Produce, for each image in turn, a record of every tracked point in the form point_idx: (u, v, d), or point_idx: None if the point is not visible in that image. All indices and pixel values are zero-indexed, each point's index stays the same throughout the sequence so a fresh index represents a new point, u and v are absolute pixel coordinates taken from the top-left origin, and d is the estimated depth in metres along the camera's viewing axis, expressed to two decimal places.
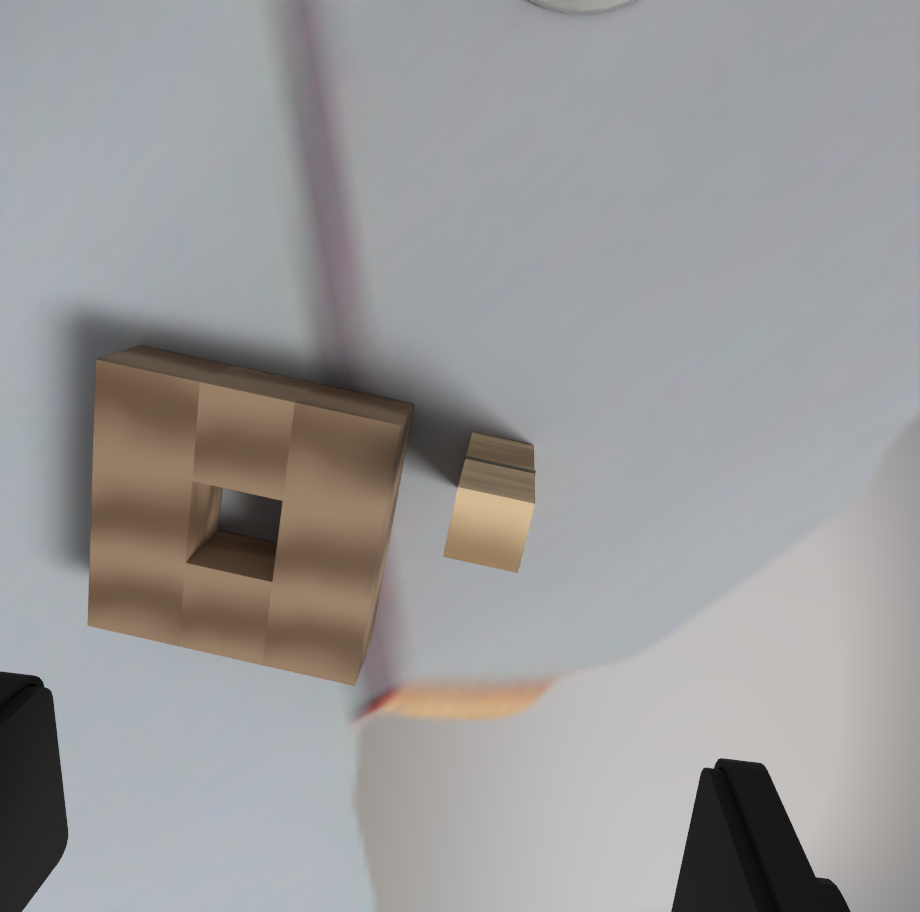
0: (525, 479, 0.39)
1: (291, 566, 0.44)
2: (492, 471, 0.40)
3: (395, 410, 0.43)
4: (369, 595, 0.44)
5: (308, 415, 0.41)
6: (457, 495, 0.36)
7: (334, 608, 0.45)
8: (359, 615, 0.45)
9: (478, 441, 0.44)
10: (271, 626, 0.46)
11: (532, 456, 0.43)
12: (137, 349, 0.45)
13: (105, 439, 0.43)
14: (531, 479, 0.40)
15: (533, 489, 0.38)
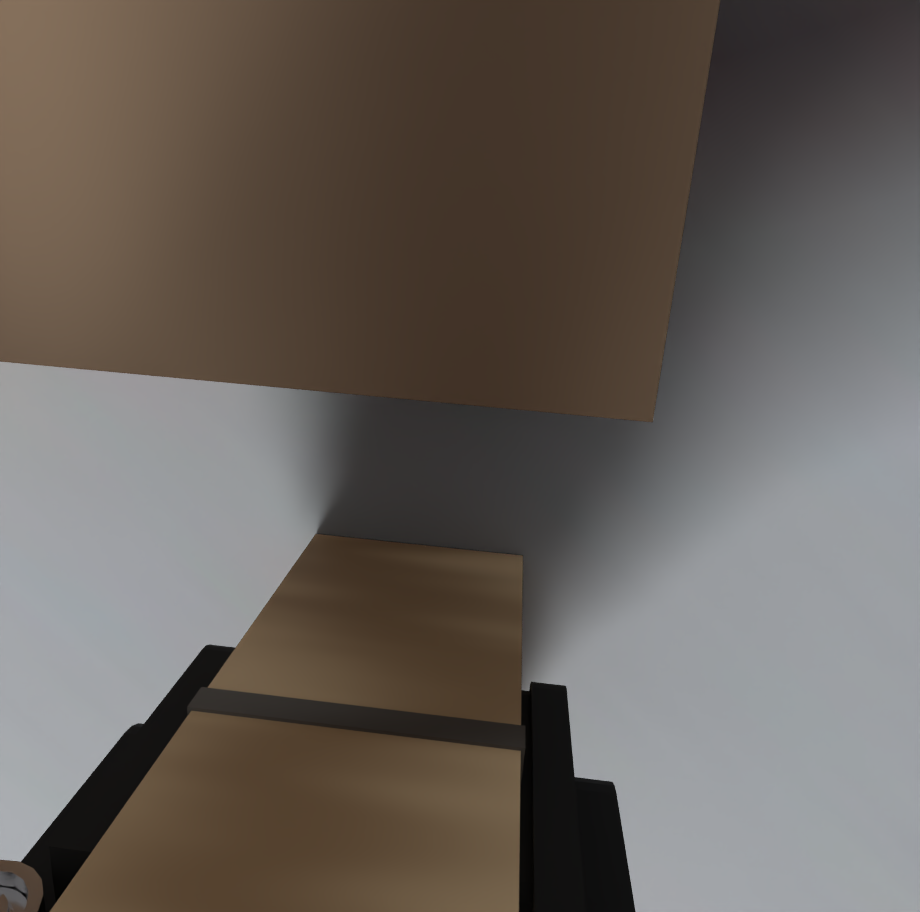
0: None
1: None
2: None
3: None
4: None
5: None
6: None
7: None
8: None
9: None
10: None
11: None
12: None
13: None
14: None
15: None
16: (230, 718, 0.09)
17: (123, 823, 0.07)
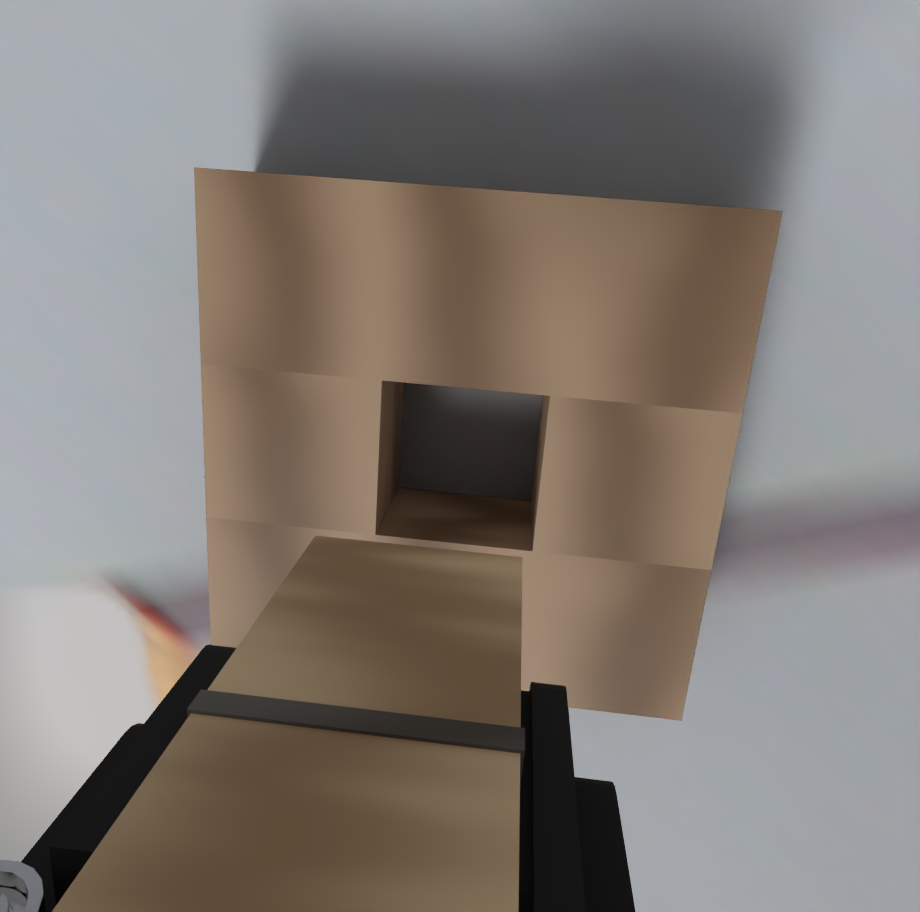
0: None
1: None
2: None
3: None
4: None
5: (690, 590, 0.25)
6: None
7: None
8: None
9: None
10: (288, 532, 0.26)
11: None
12: None
13: (617, 225, 0.22)
14: None
15: None
16: (229, 721, 0.09)
17: (122, 826, 0.07)
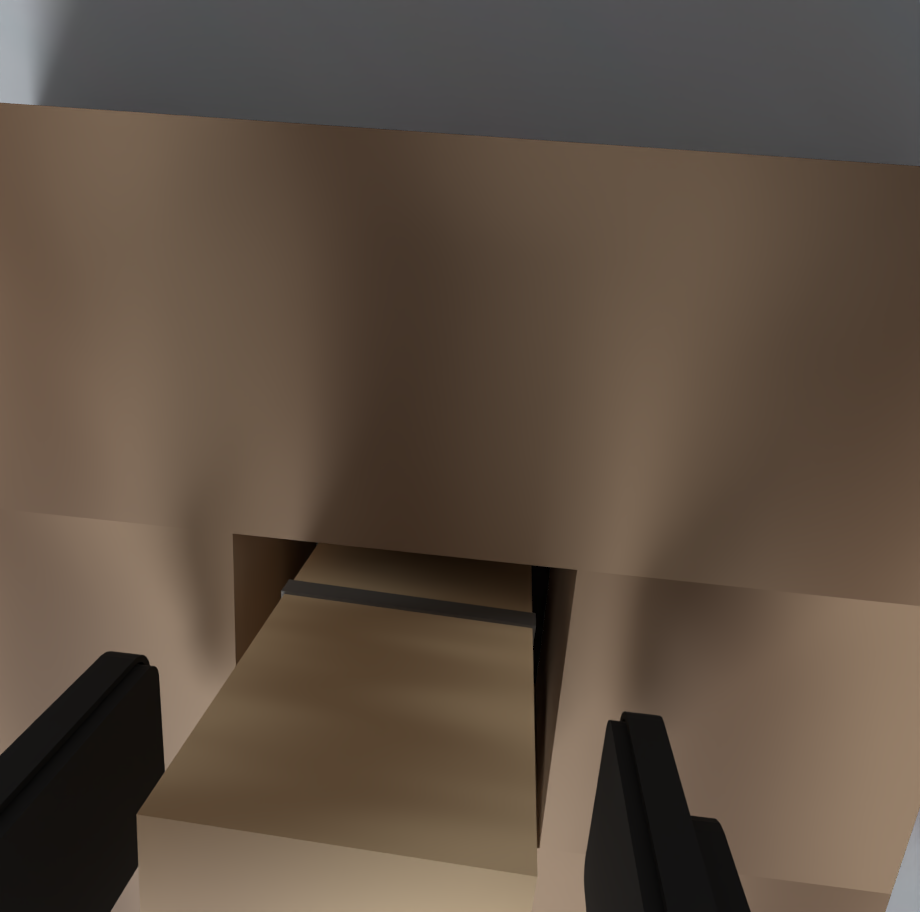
0: None
1: None
2: None
3: None
4: None
5: None
6: (488, 874, 0.07)
7: None
8: None
9: None
10: None
11: None
12: None
13: (734, 214, 0.10)
14: None
15: None
16: (314, 599, 0.11)
17: (252, 654, 0.10)
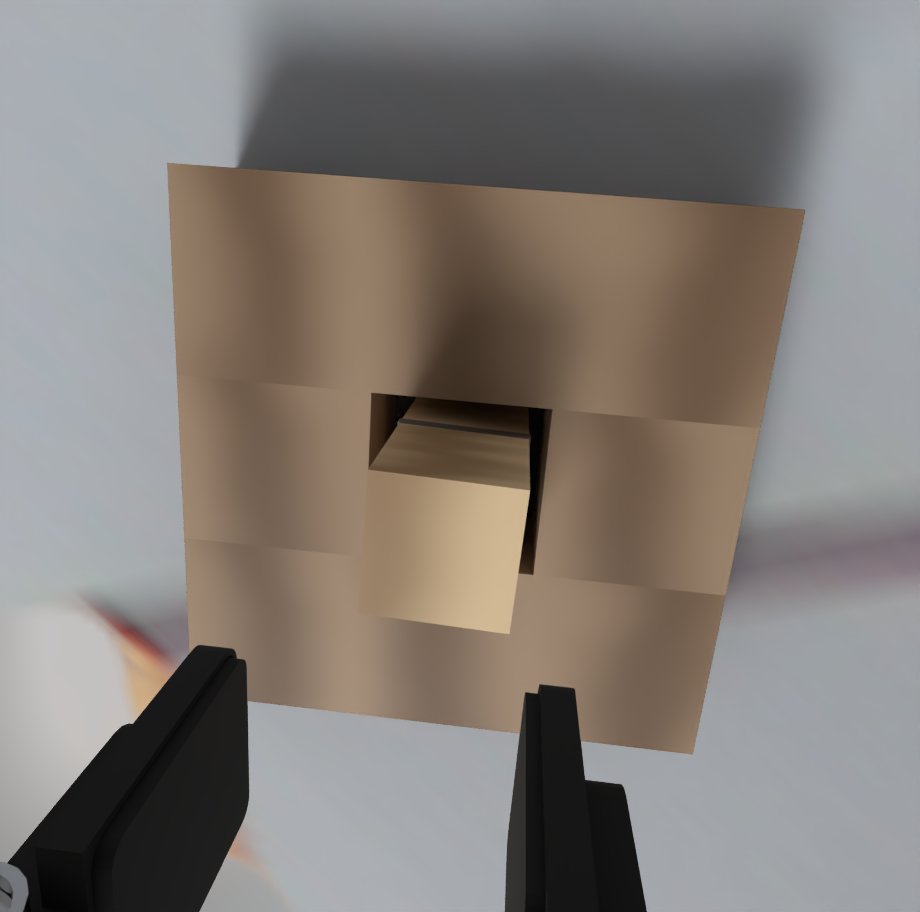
0: None
1: None
2: None
3: None
4: (375, 714, 0.26)
5: (703, 617, 0.23)
6: (510, 490, 0.17)
7: (337, 660, 0.25)
8: (332, 699, 0.26)
9: None
10: (272, 554, 0.24)
11: None
12: None
13: (625, 225, 0.20)
14: None
15: None
16: (415, 425, 0.22)
17: (393, 437, 0.20)
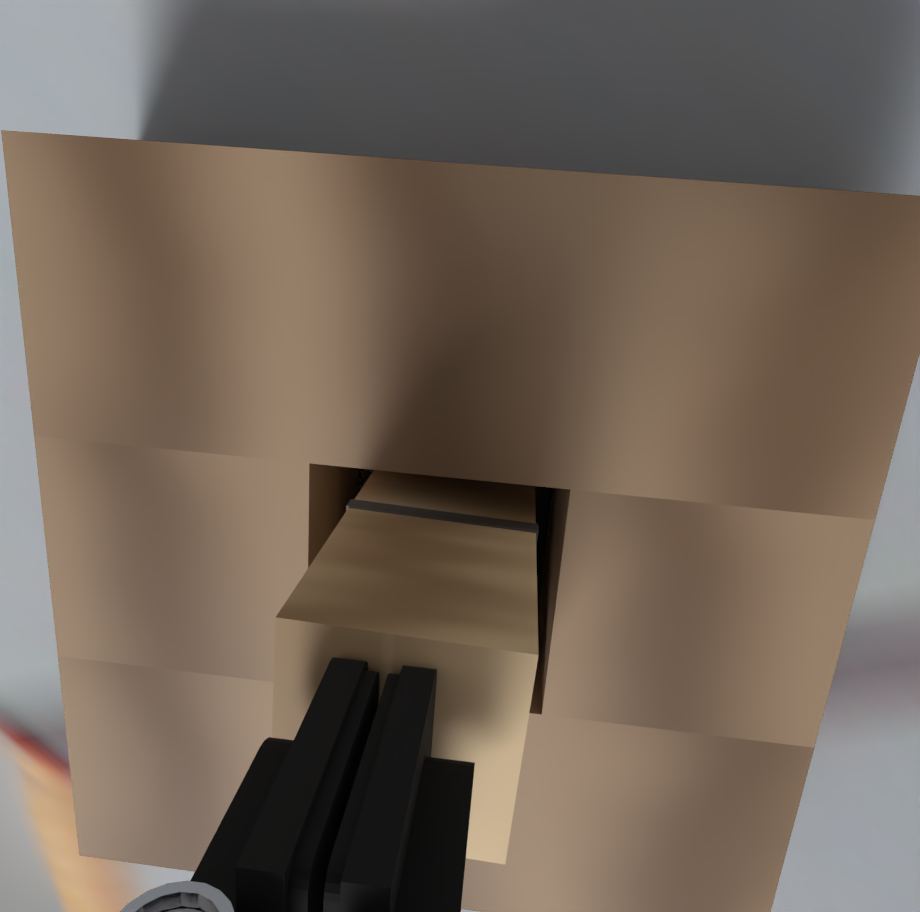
0: None
1: None
2: None
3: None
4: None
5: (780, 775, 0.17)
6: (506, 654, 0.11)
7: None
8: None
9: None
10: (179, 679, 0.17)
11: None
12: None
13: (683, 222, 0.13)
14: None
15: None
16: (371, 511, 0.15)
17: (332, 540, 0.14)
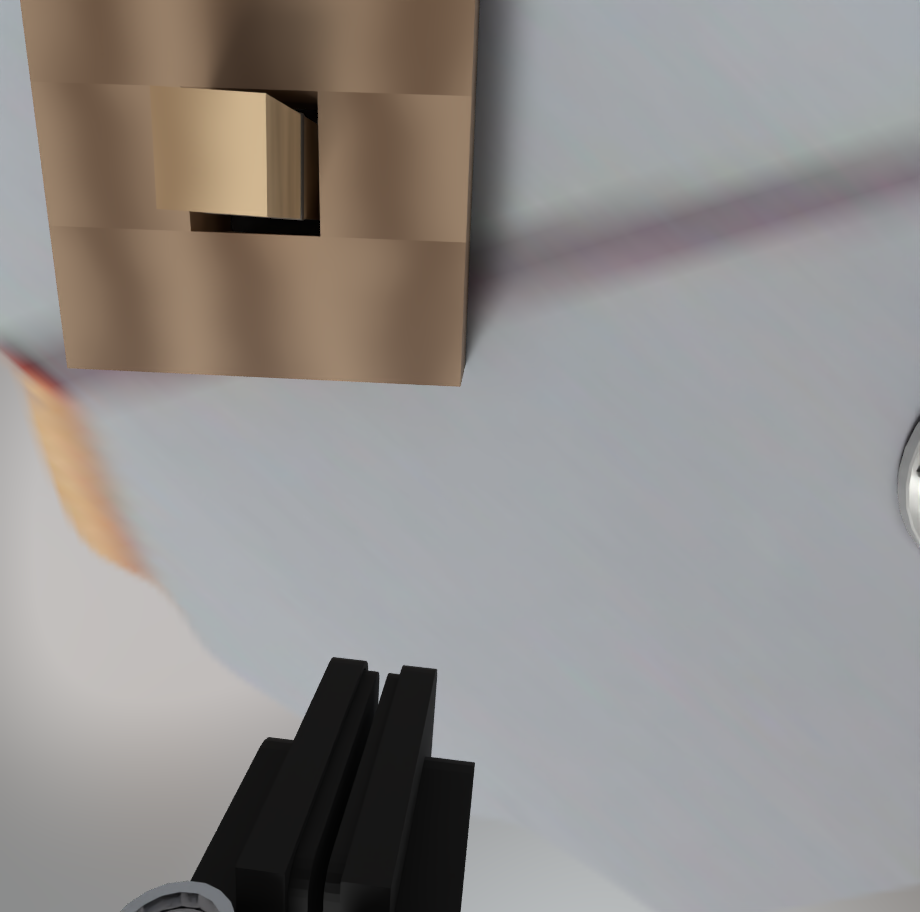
0: (291, 204, 0.29)
1: (223, 258, 0.31)
2: (292, 154, 0.28)
3: (463, 358, 0.34)
4: (213, 373, 0.33)
5: (451, 263, 0.31)
6: (252, 94, 0.24)
7: (179, 326, 0.32)
8: (179, 363, 0.32)
9: None
10: (119, 235, 0.31)
11: (317, 217, 0.33)
12: None
13: None
14: (293, 213, 0.29)
15: (283, 215, 0.27)
16: None
17: None
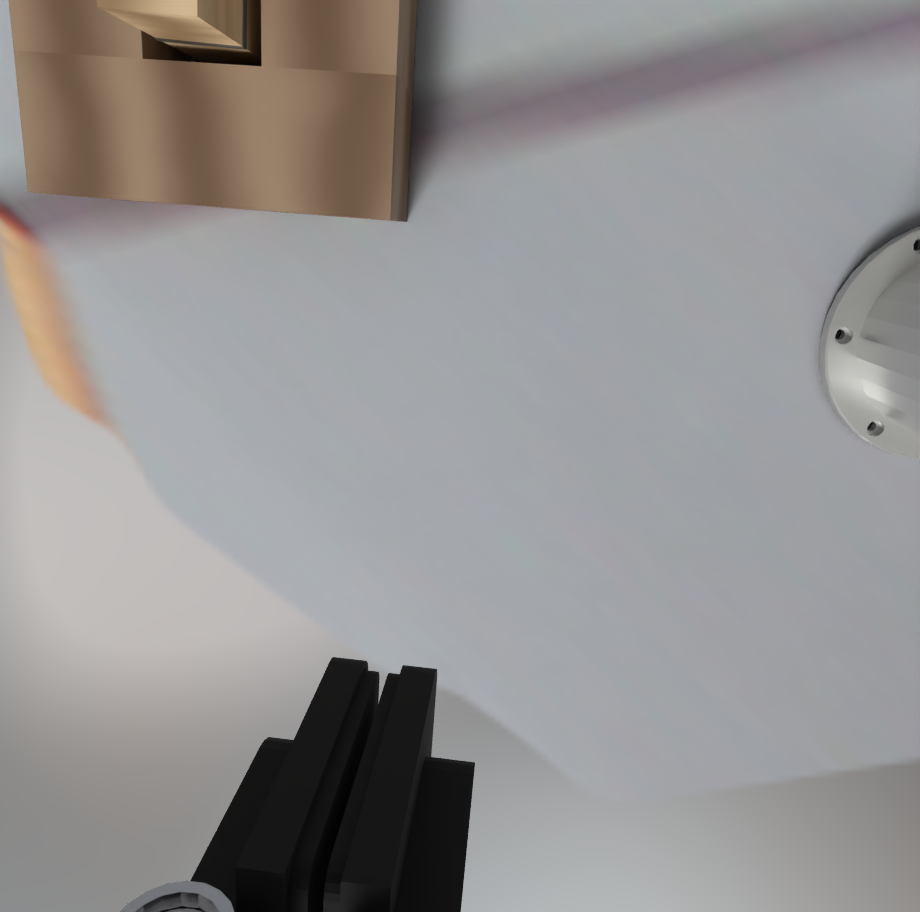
0: (230, 25, 0.31)
1: (172, 85, 0.33)
2: None
3: (400, 204, 0.36)
4: (161, 200, 0.35)
5: (383, 95, 0.32)
6: None
7: (130, 153, 0.34)
8: (130, 189, 0.35)
9: None
10: (77, 60, 0.33)
11: None
12: None
13: None
14: (232, 35, 0.31)
15: (218, 28, 0.30)
16: None
17: None
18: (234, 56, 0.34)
